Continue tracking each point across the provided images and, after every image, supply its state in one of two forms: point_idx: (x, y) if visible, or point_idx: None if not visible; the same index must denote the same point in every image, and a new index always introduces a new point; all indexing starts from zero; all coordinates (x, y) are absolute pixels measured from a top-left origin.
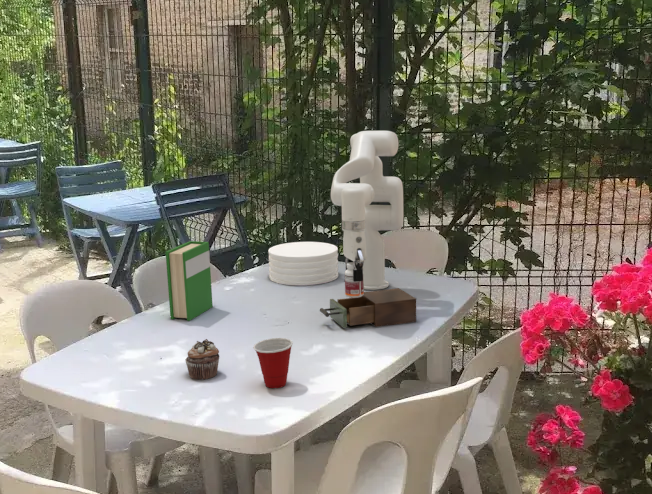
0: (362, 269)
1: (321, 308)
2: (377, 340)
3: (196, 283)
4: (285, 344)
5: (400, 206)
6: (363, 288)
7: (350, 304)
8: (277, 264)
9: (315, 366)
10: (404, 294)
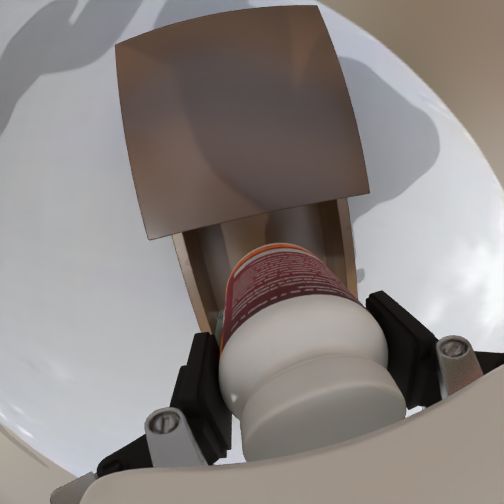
0: (431, 336)
1: None
2: (436, 214)
3: None
4: None
5: None
6: (308, 255)
7: (201, 277)
8: None
9: (484, 347)
10: (234, 25)
